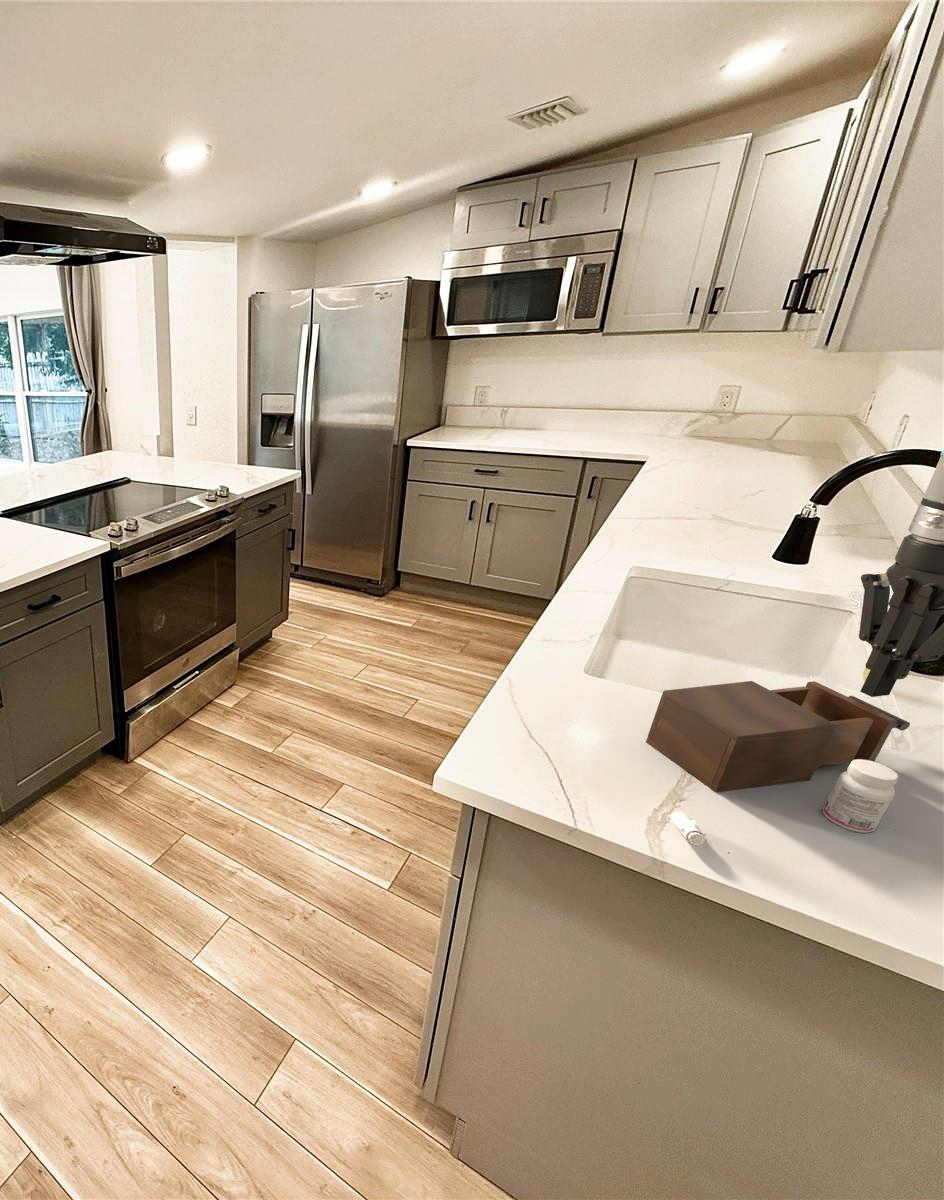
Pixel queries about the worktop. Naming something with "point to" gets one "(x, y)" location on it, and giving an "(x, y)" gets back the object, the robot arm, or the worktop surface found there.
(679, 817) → the small white plastic part
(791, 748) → the cabinet
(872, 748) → the drawer
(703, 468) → the worktop surface
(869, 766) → the pill bottle
